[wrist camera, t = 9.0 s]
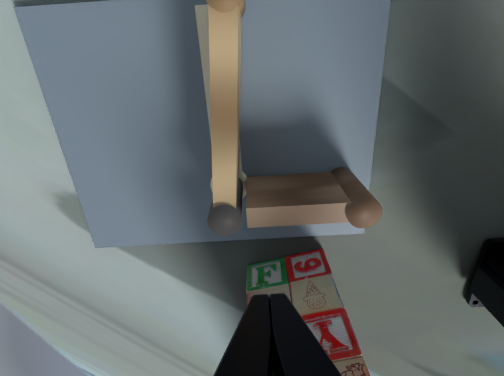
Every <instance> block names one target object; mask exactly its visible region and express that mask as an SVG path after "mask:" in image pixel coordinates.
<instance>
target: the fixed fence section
mask: <svg viewBox="0 0 504 376" xmlns="http://www.w3.org/2000/svg"><path fill="white" fill-rule="evenodd" d="M246 213H247V226H248V228H255V227H273V226H292V225H310V224H328V223H346V222H350V224H351V225H353V226H354V227H356V228H368V227H371V226H373V225H374V224H375V223H377V222H378V220H379V219H380V217H381V215H382V207H381V205H380V204H379V202H378V201H377V200H376V199H375V198H374V197H373V195H372V194H371V193H370V192H369V191H368V190H367V189H366V187H365V186H364V185H363V184H362V183H361V182H360V181H359V179H358V178H357V177H356V176H355V175H354V174H353V173H352V171H351V170H350V169H348V168H345V167H339V168H336V169H334V170H332V171H331V172H322V173H305V174H288V175H270V176H253V177H247V193H246Z"/></svg>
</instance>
